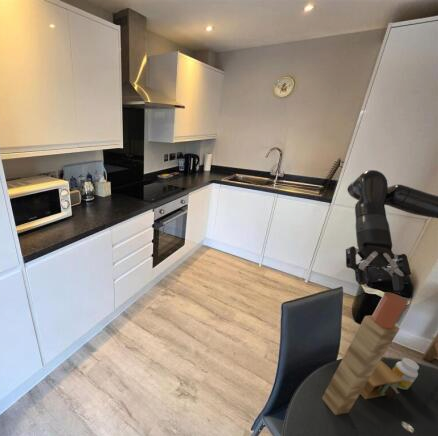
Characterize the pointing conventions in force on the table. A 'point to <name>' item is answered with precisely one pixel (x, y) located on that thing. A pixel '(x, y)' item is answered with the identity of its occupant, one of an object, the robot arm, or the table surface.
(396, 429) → the table surface
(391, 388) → the green toy piece
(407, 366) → the supplement bottle
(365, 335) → the column
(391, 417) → the table surface
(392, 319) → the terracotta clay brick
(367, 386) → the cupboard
